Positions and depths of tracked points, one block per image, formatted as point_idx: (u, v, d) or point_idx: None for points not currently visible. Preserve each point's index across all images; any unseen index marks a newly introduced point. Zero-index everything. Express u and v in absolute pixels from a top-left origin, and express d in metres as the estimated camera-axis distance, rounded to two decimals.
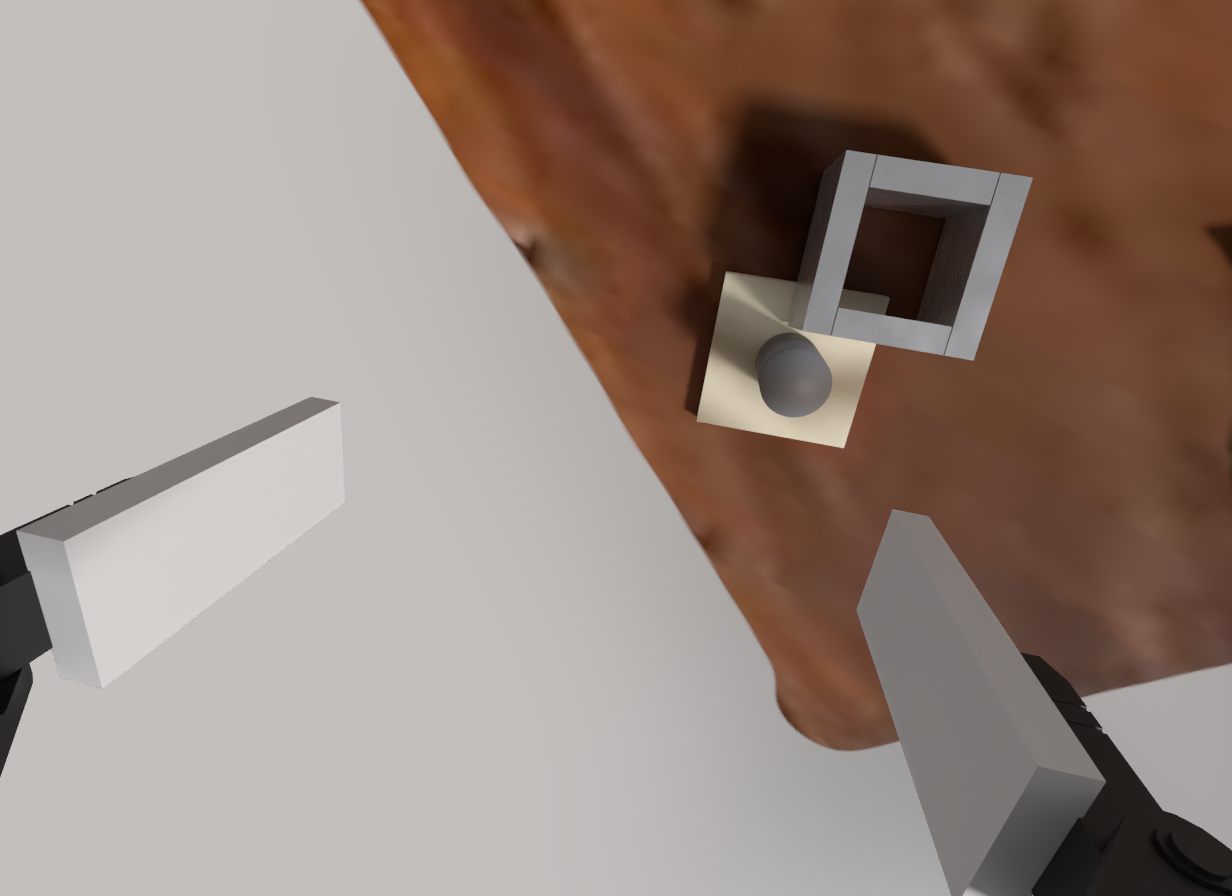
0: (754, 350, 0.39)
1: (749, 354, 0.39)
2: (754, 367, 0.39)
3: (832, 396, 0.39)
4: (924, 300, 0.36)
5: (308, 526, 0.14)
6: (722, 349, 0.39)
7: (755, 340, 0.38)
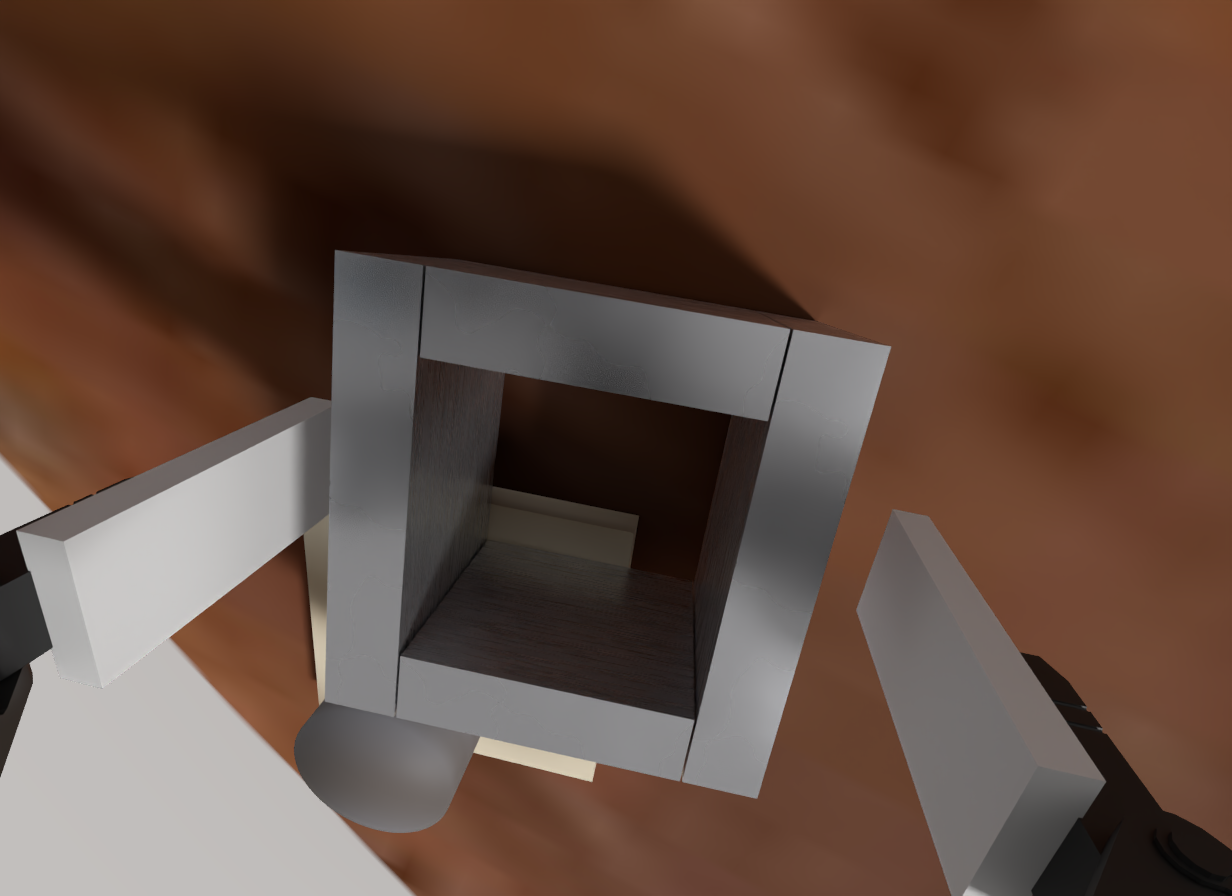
0: None
1: None
2: None
3: None
4: (703, 545, 0.16)
5: (308, 526, 0.14)
6: None
7: None
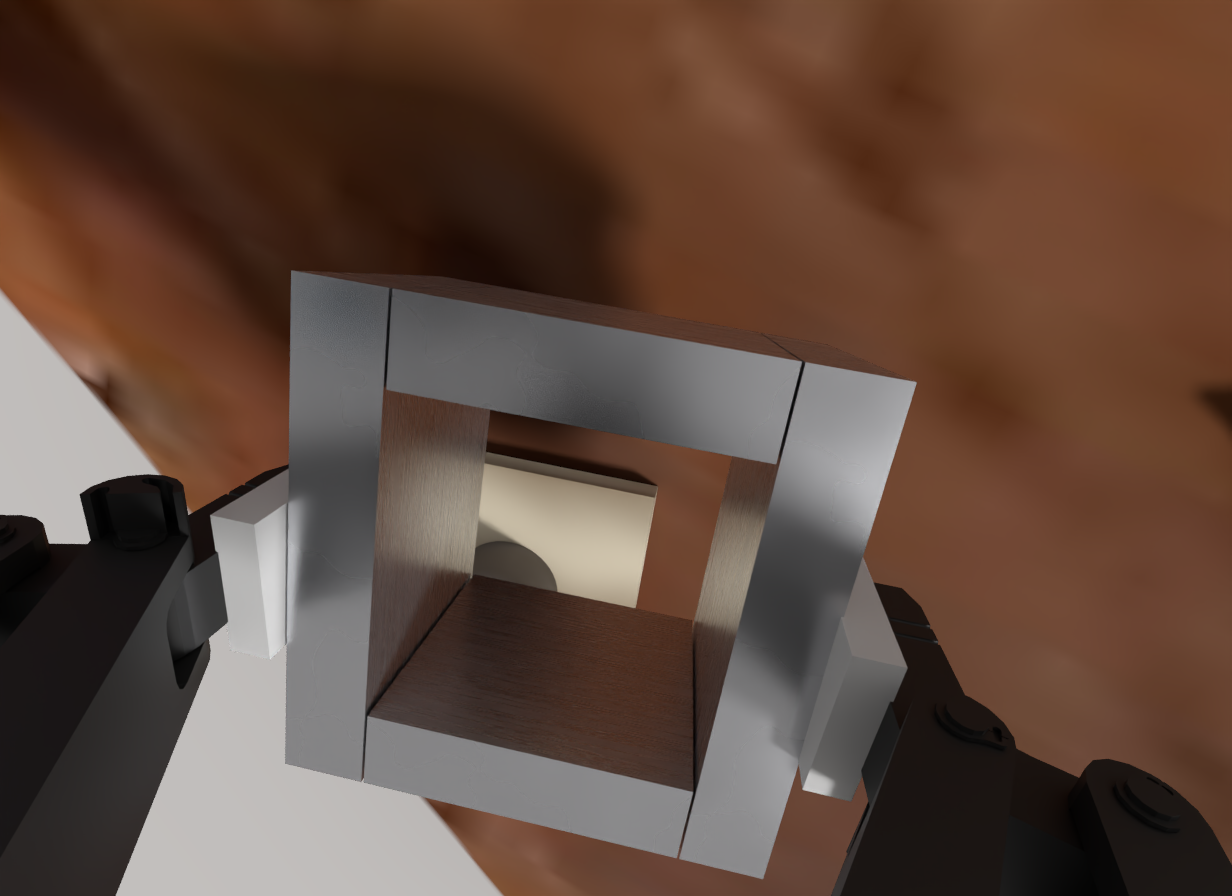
0: None
1: None
2: None
3: None
4: (704, 584, 0.15)
5: None
6: None
7: None
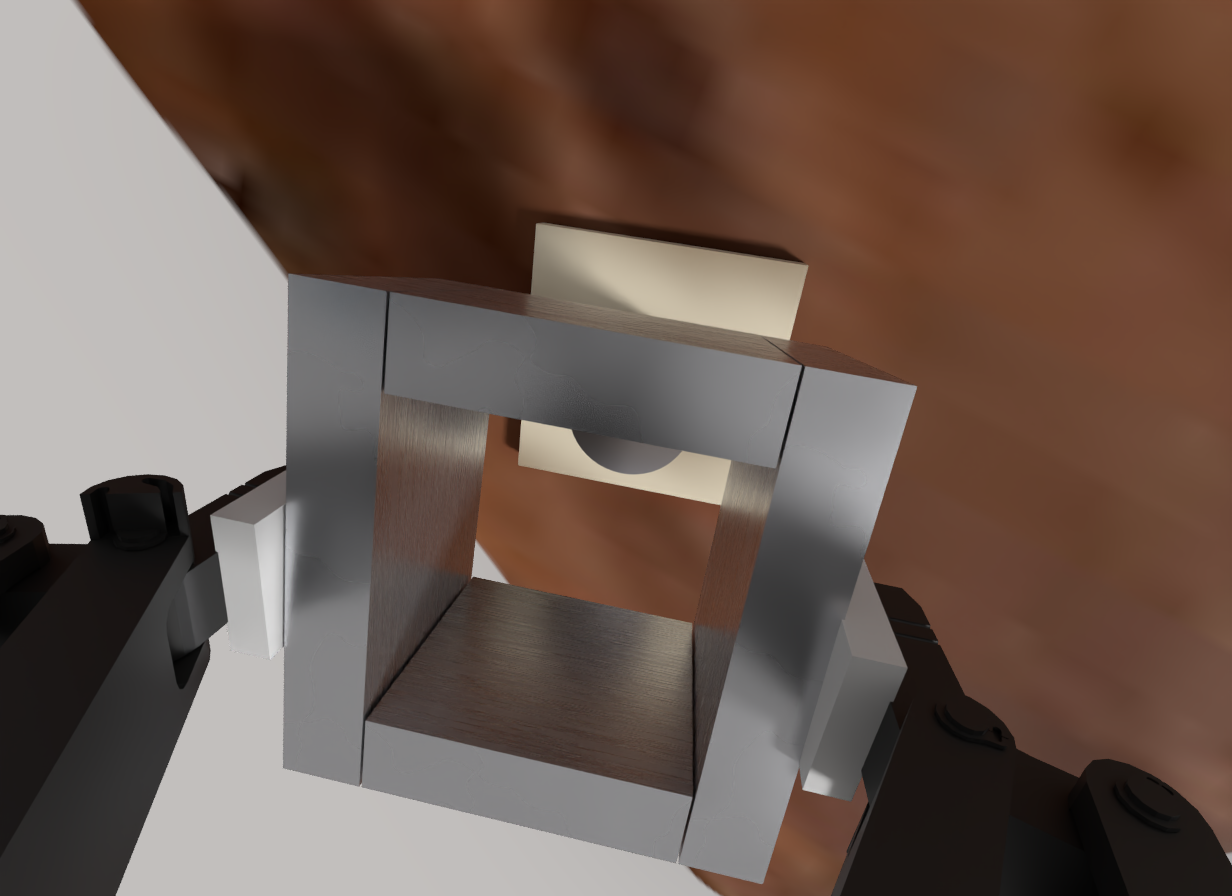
0: None
1: None
2: None
3: None
4: (704, 587, 0.15)
5: None
6: None
7: None
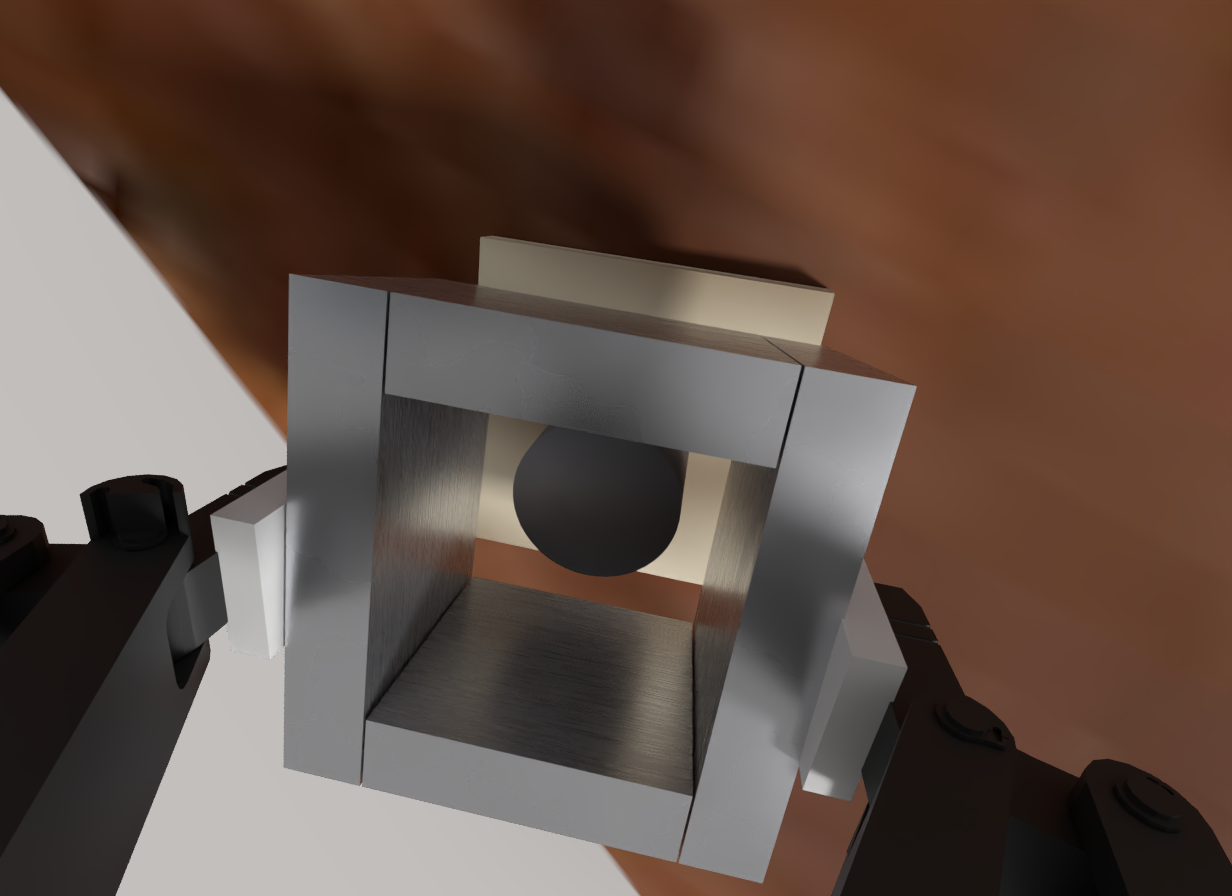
0: None
1: None
2: None
3: (722, 497, 0.19)
4: (704, 586, 0.15)
5: None
6: None
7: None
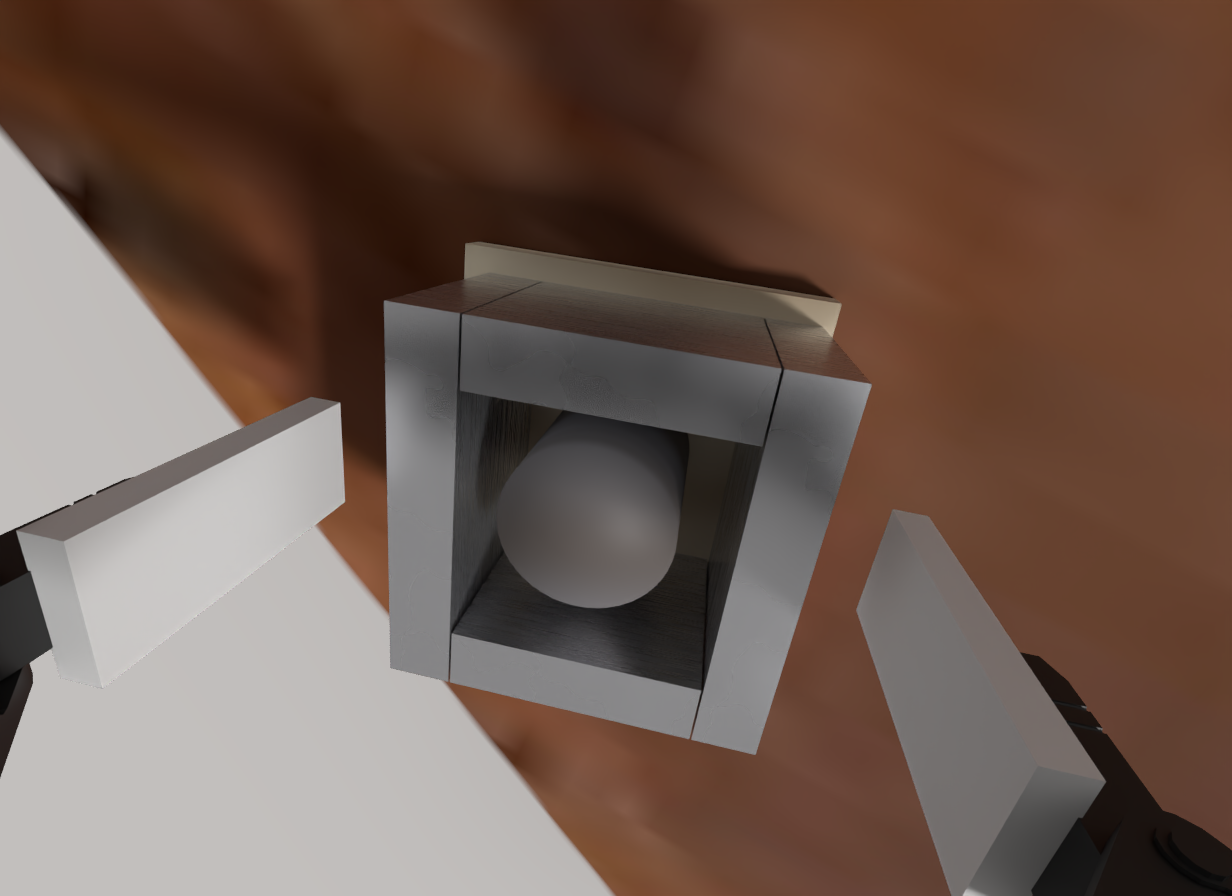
0: (549, 418, 0.18)
1: (541, 427, 0.18)
2: None
3: None
4: (716, 529, 0.18)
5: (308, 526, 0.14)
6: None
7: None
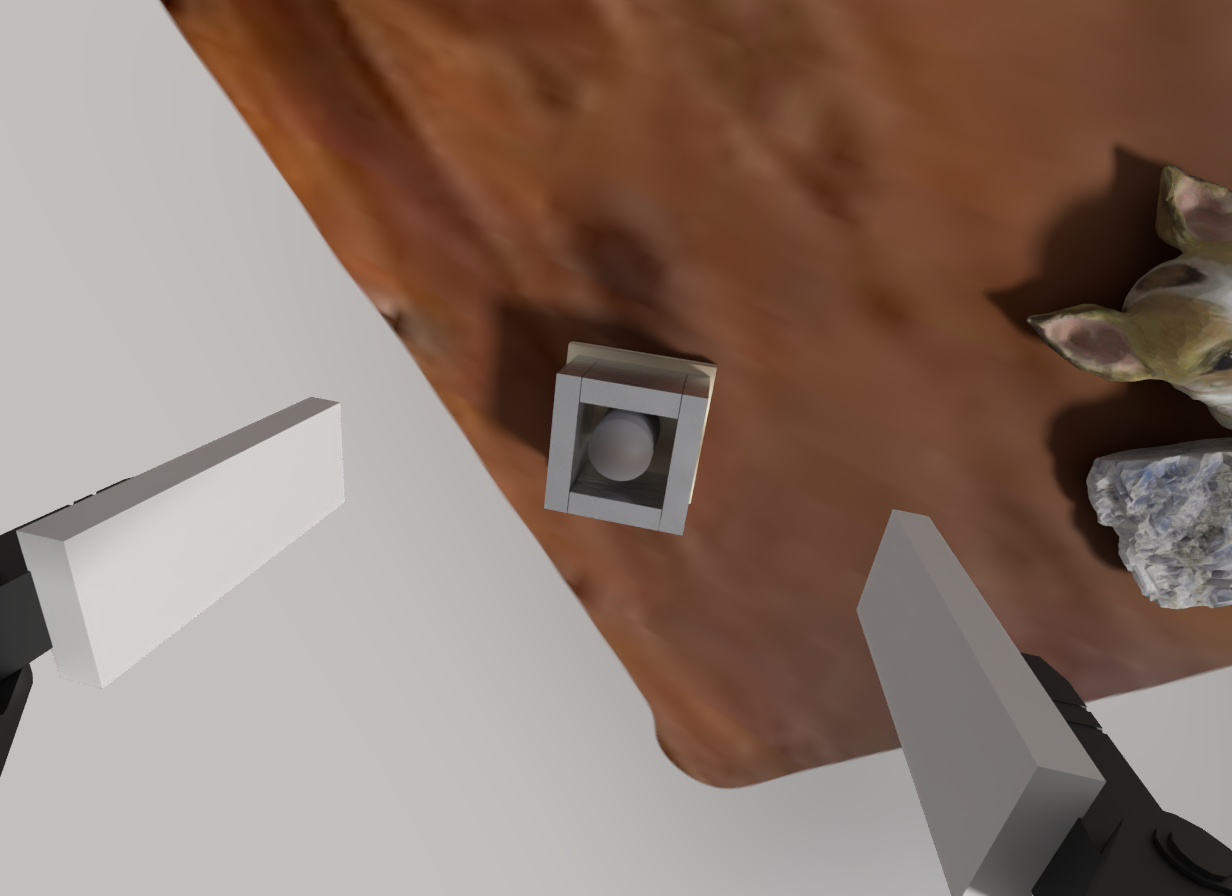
0: (600, 414, 0.41)
1: (597, 417, 0.42)
2: None
3: None
4: None
5: (308, 526, 0.14)
6: None
7: None
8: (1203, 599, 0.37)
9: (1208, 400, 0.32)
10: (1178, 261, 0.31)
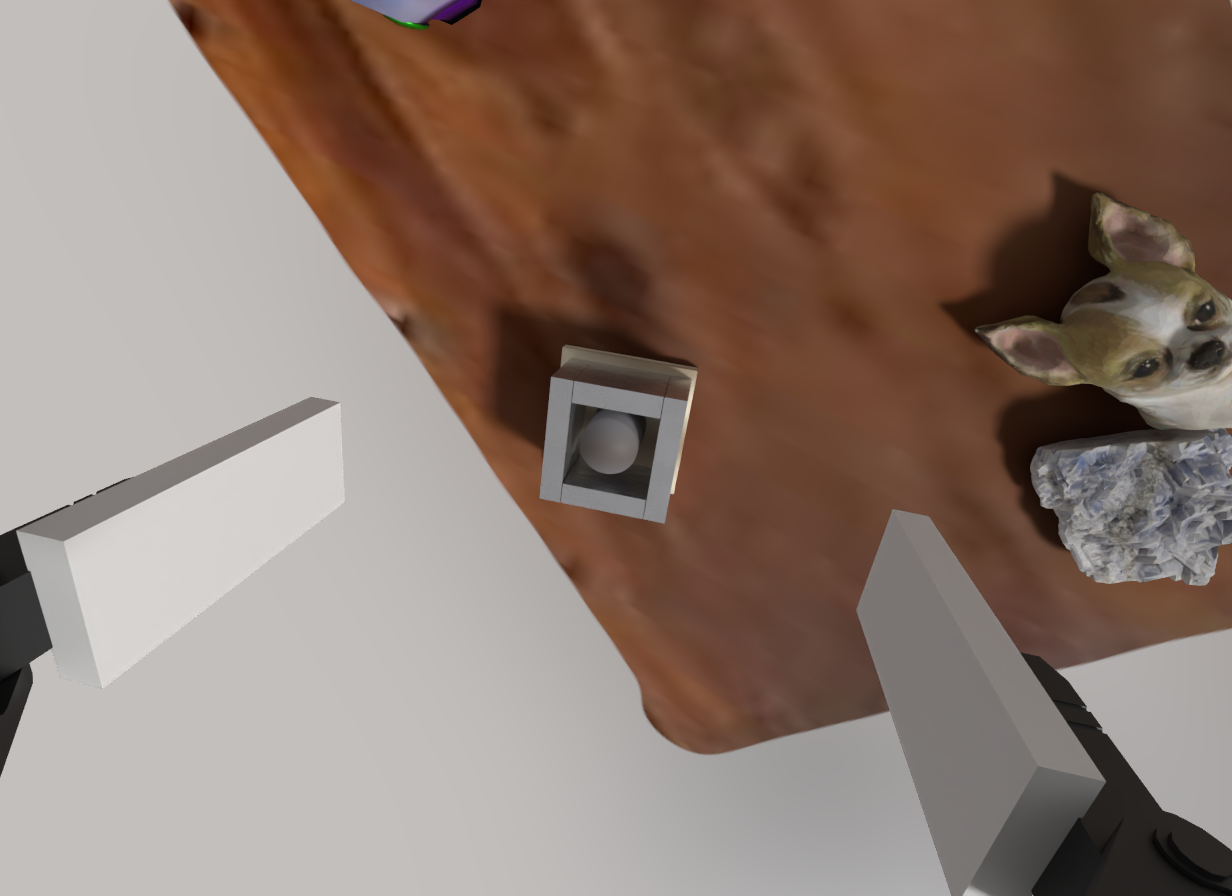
0: (591, 411, 0.45)
1: (588, 415, 0.45)
2: None
3: None
4: None
5: (308, 526, 0.14)
6: None
7: None
8: (1133, 574, 0.41)
9: (1133, 402, 0.36)
10: (1105, 279, 0.34)
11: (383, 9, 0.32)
